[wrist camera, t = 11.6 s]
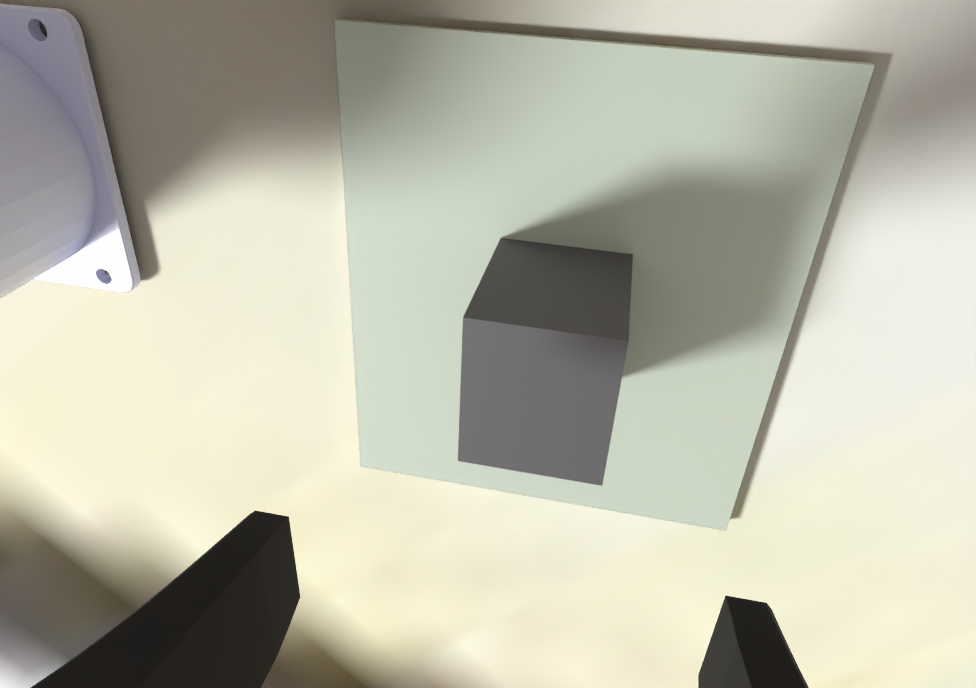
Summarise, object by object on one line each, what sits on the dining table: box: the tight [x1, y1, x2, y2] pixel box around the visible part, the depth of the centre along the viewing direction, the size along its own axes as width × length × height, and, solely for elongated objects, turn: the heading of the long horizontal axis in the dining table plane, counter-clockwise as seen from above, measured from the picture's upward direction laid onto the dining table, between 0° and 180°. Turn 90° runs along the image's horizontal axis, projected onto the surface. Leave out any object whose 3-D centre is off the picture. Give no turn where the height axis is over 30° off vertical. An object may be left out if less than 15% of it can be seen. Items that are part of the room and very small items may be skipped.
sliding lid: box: [334, 19, 875, 531], centre depth 18 cm, size 12×14×6 cm
